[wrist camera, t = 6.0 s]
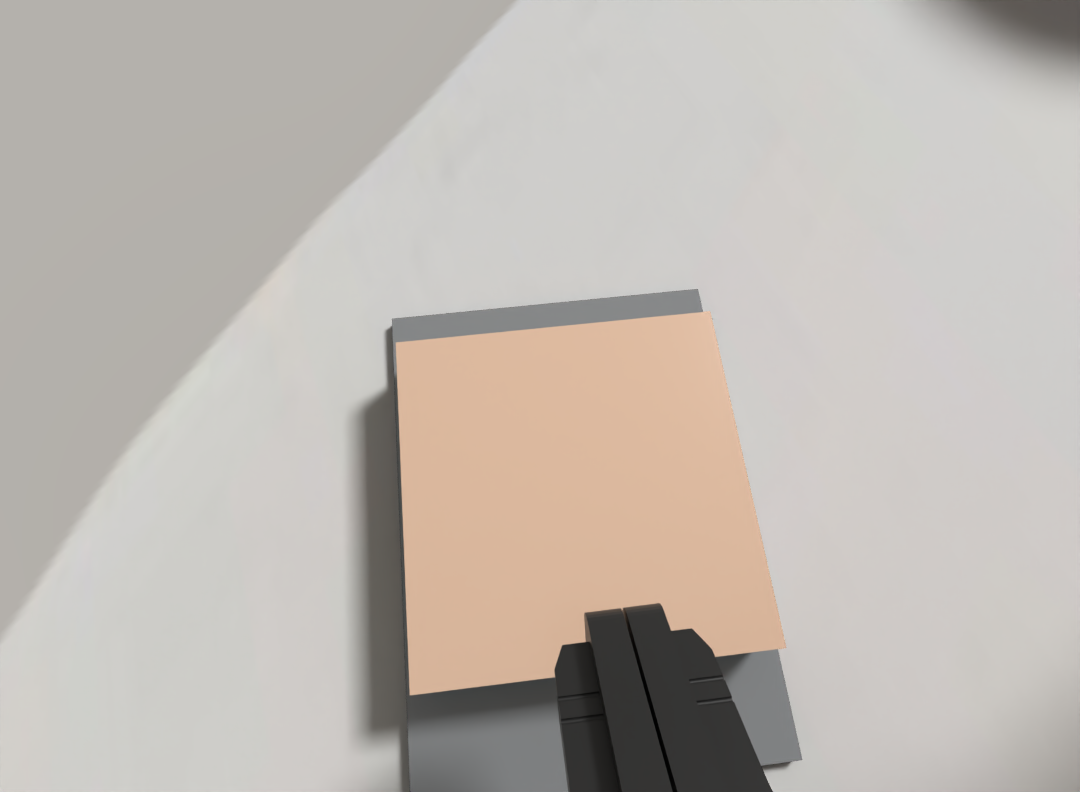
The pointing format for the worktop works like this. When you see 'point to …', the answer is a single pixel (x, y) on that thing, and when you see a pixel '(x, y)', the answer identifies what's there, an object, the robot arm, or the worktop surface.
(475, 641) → the tile
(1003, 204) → the worktop surface
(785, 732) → the mat
